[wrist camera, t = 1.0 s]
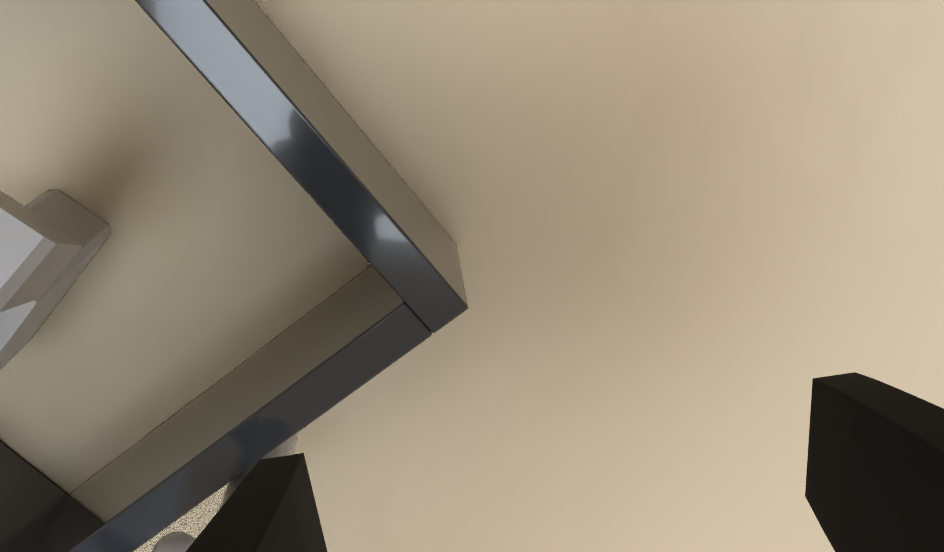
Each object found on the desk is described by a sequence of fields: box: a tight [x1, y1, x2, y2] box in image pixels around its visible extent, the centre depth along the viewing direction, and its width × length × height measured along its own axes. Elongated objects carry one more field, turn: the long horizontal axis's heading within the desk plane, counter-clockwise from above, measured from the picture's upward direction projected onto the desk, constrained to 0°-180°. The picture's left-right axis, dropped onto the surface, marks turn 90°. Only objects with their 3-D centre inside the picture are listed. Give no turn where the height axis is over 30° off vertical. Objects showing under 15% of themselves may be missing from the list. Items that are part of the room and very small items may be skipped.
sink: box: [0, 0, 468, 552], centre depth 16 cm, size 14×15×7 cm
